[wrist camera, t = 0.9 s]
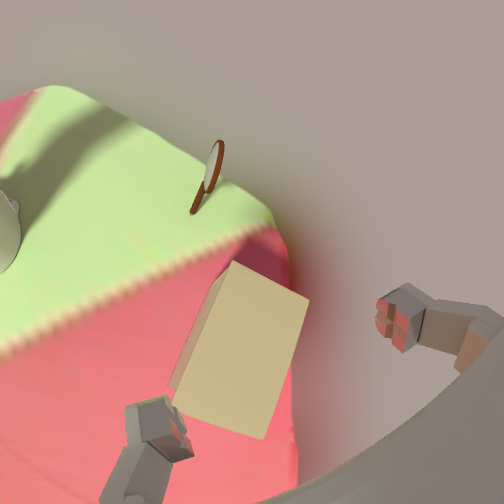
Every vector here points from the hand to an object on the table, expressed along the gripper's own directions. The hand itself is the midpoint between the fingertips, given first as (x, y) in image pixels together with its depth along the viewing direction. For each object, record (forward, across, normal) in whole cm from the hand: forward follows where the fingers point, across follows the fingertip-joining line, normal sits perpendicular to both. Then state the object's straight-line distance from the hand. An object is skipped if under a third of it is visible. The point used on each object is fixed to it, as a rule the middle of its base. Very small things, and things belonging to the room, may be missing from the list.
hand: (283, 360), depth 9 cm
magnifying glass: (+50, -3, +10) cm, 51 cm away
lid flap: (+22, -1, +22) cm, 31 cm away
